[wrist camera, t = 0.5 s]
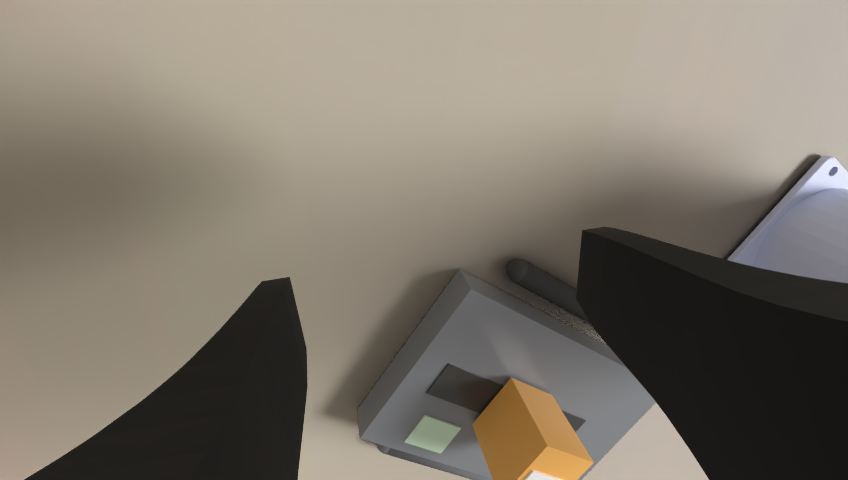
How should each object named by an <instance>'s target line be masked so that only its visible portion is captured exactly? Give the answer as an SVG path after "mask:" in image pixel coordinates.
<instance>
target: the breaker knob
mask: <svg viewBox="0 0 848 480" xmlns="http://www.w3.org/2000/svg"><path fill="white" fill-rule="evenodd" d="M472 425H473V428H474V431H475V433H476V436H477V439H478V441H479V444H480V447H481V449H482V452H483V455H484V457H485V460H486V463H487V465H488V468H489V471H490V473H491V476H492V479H493V480H578V479H579V478H580V477H581V476H582V475H583V474H584V473H585V471H586V470H587V469H588V468H589V467H590V466H591V465H592V464H593V463H594V462H593V460H592V459H591V457H590V455H589V454H588V452H587V451H586V449H585V447H584V446H583V444H582V443H581V441H580V439H579V438H578V436H577V434H576V433H575V431H574V430H573V428H572V426H571V425H570V423H569V422H568V420H567V418H566V417H565V415H564V413H563V412H562V410H561V409H560V407H559V405H558V404H557V402H556V400H555V399H554V397H553V396H552V395H551V394H549V393H546V392H544V391H542V390H539V389H537V388H535V387H532V386H530V385H528V384H525V383H523V382H521V381H518V380H516V379H514V378H510V379H509V381H508V382H507V383H506V384H505V385H504V387H503V388H502V389H501V390H500V391H499V393H498V394H497V395H496V396H495V398H494V399H493V400H492V401H491V402H490V404H489V405H488V406H487V407H486V408H485V410H484V411H483V412H482V413H481V414H480V416H479V417H478V418H477V419H476V420H475V422H474V423H473V424H472Z"/></svg>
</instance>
